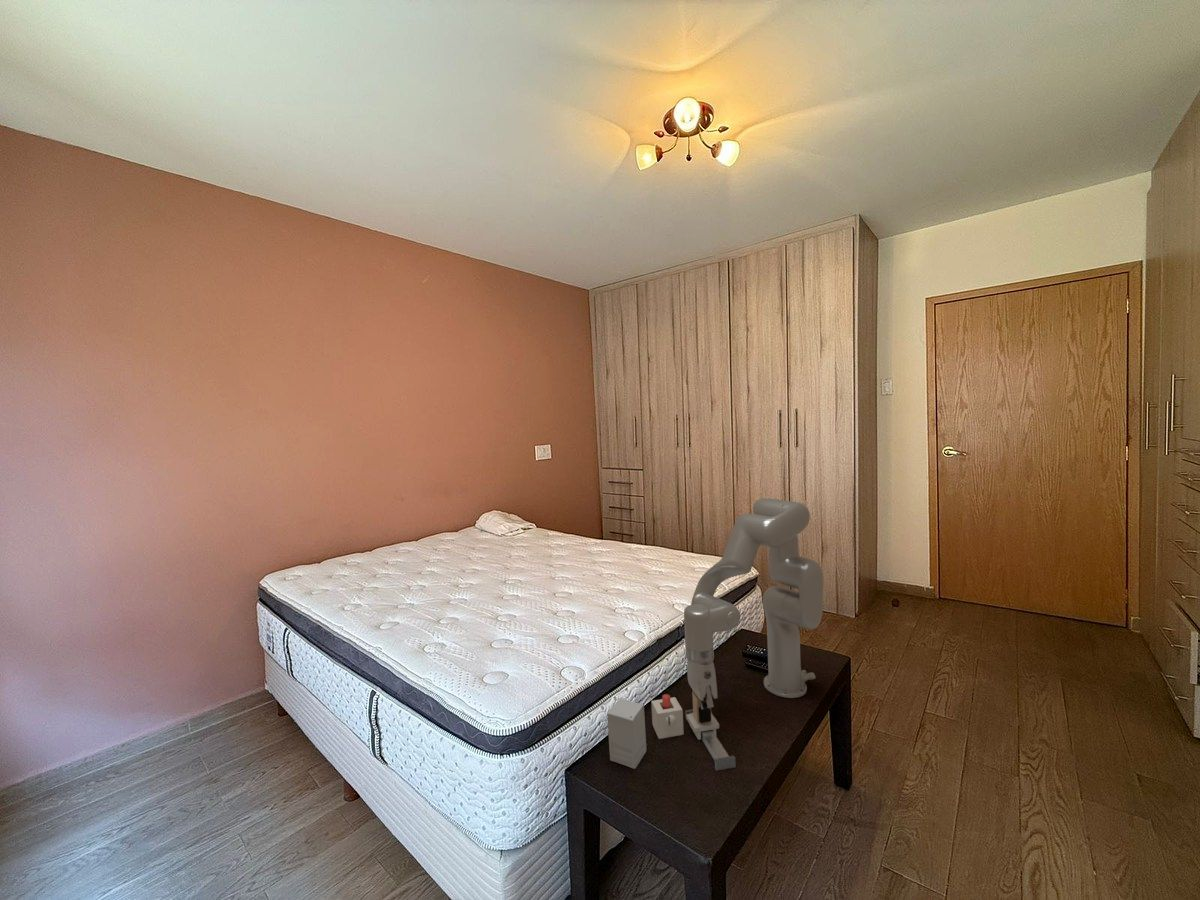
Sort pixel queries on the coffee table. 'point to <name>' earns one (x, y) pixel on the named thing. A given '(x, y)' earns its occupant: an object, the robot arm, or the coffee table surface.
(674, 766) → the coffee table surface
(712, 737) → the rail
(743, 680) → the coffee table surface
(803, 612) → the robot arm
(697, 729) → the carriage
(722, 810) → the coffee table surface
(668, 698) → the button
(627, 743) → the supplement box
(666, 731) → the white cube box
